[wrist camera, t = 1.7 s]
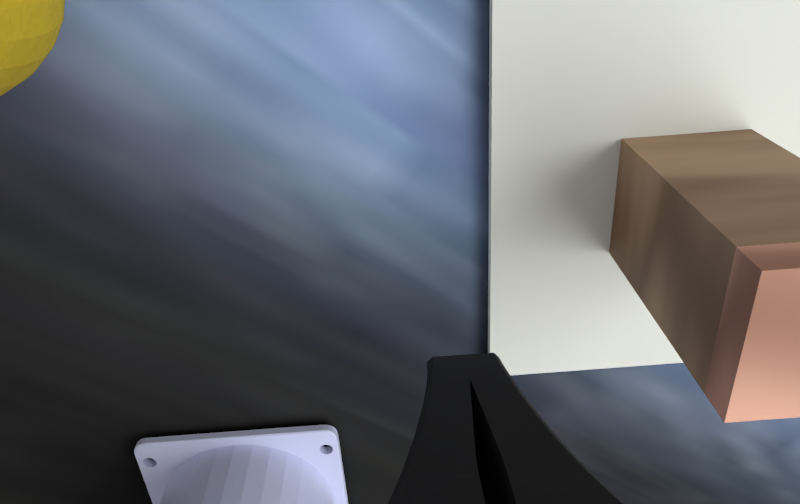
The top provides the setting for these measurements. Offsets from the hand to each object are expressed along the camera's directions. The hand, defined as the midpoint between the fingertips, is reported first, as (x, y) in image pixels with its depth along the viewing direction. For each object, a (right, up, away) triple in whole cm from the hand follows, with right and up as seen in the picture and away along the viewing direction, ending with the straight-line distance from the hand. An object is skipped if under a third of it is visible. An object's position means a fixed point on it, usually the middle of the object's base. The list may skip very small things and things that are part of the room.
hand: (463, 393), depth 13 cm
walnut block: (+8, +5, +8) cm, 12 cm away
